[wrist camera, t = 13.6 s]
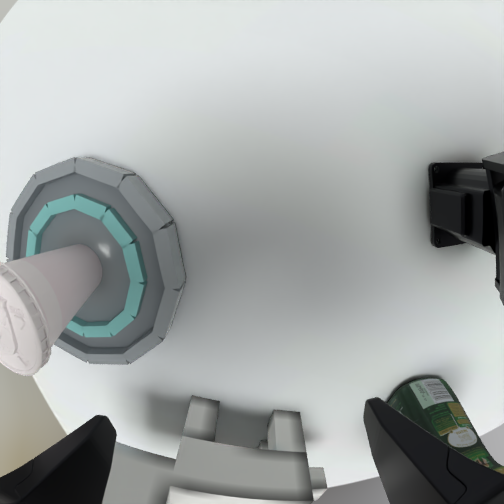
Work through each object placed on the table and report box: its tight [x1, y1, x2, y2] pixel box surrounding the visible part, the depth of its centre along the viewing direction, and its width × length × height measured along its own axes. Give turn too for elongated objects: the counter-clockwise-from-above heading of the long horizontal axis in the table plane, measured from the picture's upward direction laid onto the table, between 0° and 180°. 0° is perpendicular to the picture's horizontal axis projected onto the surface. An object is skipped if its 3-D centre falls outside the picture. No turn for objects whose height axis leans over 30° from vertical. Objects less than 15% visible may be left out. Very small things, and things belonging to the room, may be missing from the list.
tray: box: [6, 157, 186, 365], centre depth 20 cm, size 16×16×2 cm
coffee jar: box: [387, 378, 504, 474], centre depth 16 cm, size 10×8×19 cm
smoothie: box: [0, 244, 102, 376], centre depth 13 cm, size 6×6×14 cm
